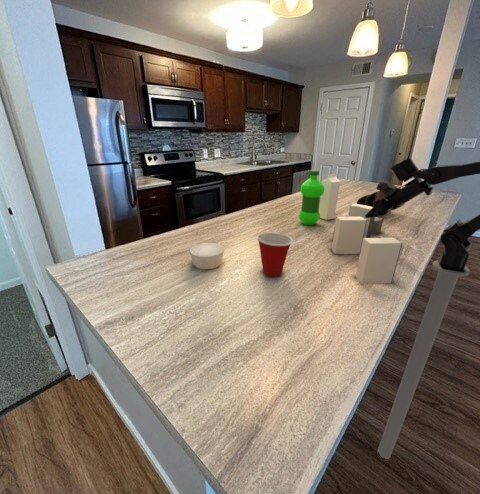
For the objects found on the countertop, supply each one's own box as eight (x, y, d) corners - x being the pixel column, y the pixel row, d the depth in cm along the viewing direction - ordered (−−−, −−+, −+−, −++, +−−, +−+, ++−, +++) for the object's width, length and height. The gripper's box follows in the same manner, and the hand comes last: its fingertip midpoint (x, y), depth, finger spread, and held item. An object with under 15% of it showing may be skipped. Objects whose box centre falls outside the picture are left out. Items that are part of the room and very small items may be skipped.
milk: (317, 217, 136) (322, 173, 128) (325, 215, 139) (331, 172, 130) (326, 220, 131) (332, 175, 123) (335, 218, 134) (341, 174, 126)
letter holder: (387, 211, 146) (393, 185, 141) (372, 218, 134) (378, 191, 128) (369, 207, 153) (374, 183, 148) (354, 214, 141) (358, 188, 135)
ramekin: (187, 258, 91) (186, 245, 89) (218, 254, 95) (218, 240, 93) (194, 274, 82) (193, 259, 80) (228, 268, 85) (228, 253, 83)
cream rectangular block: (370, 237, 110) (377, 207, 105) (366, 240, 107) (372, 209, 102) (349, 231, 116) (354, 203, 111) (345, 234, 114) (350, 205, 109)
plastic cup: (297, 275, 81) (301, 239, 77) (268, 284, 76) (271, 247, 72) (276, 261, 90) (278, 228, 85) (249, 268, 85) (250, 234, 80)
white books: (355, 249, 99) (361, 216, 94) (391, 283, 77) (402, 243, 72) (331, 249, 99) (336, 216, 94) (361, 284, 77) (370, 243, 72)
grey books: (380, 231, 117) (383, 218, 115) (353, 247, 101) (356, 232, 98) (360, 226, 123) (363, 214, 121) (332, 240, 107) (334, 226, 105)
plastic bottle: (298, 219, 132) (303, 168, 123) (320, 221, 129) (327, 169, 119) (295, 225, 124) (300, 171, 114) (318, 228, 120) (326, 172, 111)
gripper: (403, 171, 101) (368, 194, 113) (384, 176, 90) (348, 202, 101) (421, 195, 99) (384, 216, 111) (404, 203, 87) (364, 226, 99)
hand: (370, 214), depth 106 cm, fingers open, 9 cm apart
